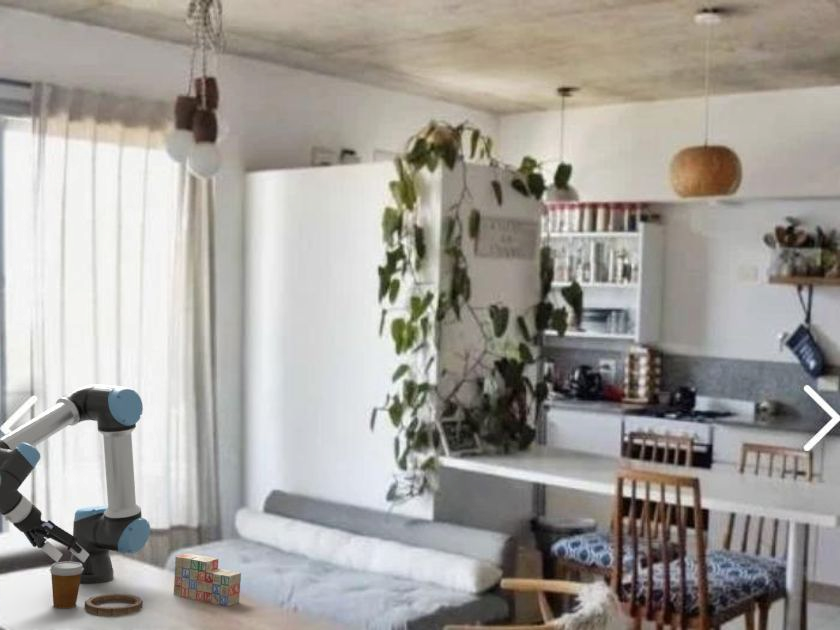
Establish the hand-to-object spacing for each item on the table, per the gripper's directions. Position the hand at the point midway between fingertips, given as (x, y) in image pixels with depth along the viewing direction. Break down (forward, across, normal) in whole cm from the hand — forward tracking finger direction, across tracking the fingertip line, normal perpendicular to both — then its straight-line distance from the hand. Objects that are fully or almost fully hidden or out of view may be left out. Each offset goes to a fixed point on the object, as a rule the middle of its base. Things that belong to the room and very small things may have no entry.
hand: (72, 558), depth 306 cm
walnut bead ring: (+18, +5, -5) cm, 19 cm away
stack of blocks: (+39, +14, +13) cm, 44 cm away
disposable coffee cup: (+10, -6, -10) cm, 15 cm away
